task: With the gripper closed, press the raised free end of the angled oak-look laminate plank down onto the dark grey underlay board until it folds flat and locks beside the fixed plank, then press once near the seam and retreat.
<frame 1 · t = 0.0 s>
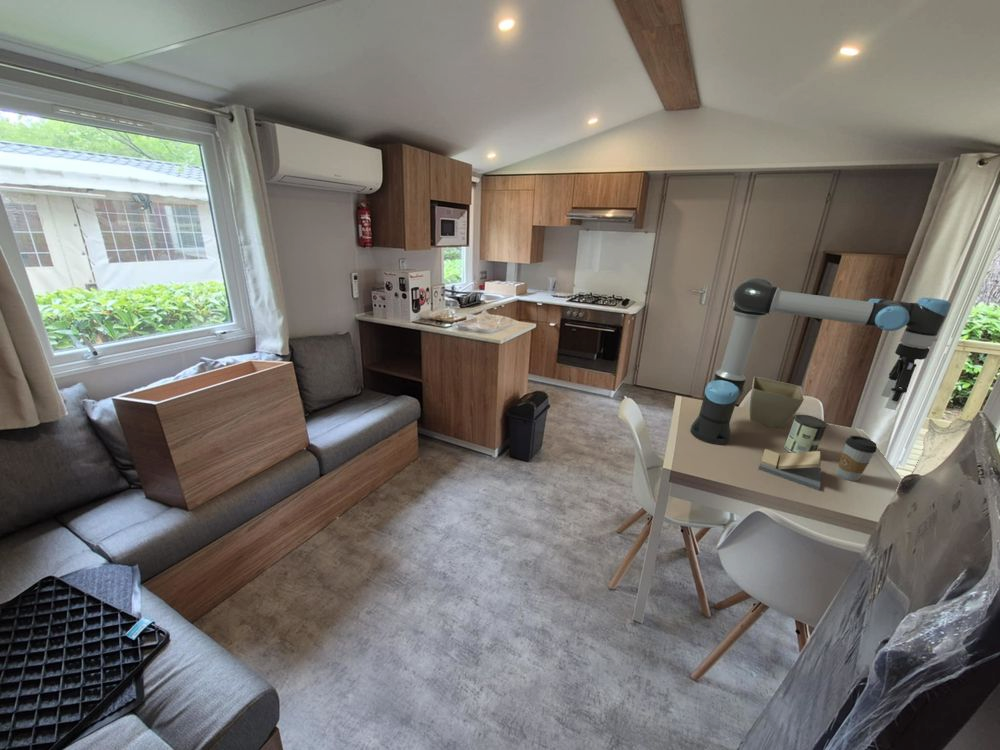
hand: (887, 402, 138), 28 cm above the table, fingers open, 13 cm apart
coffee cup: (846, 476, 143), on the table
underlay: (789, 470, 145), on the table
flower pot: (765, 420, 183), on the table
coffee can: (798, 451, 158), on the table
plank: (799, 460, 142), point 5 cm above the table, hinge at -30.0°
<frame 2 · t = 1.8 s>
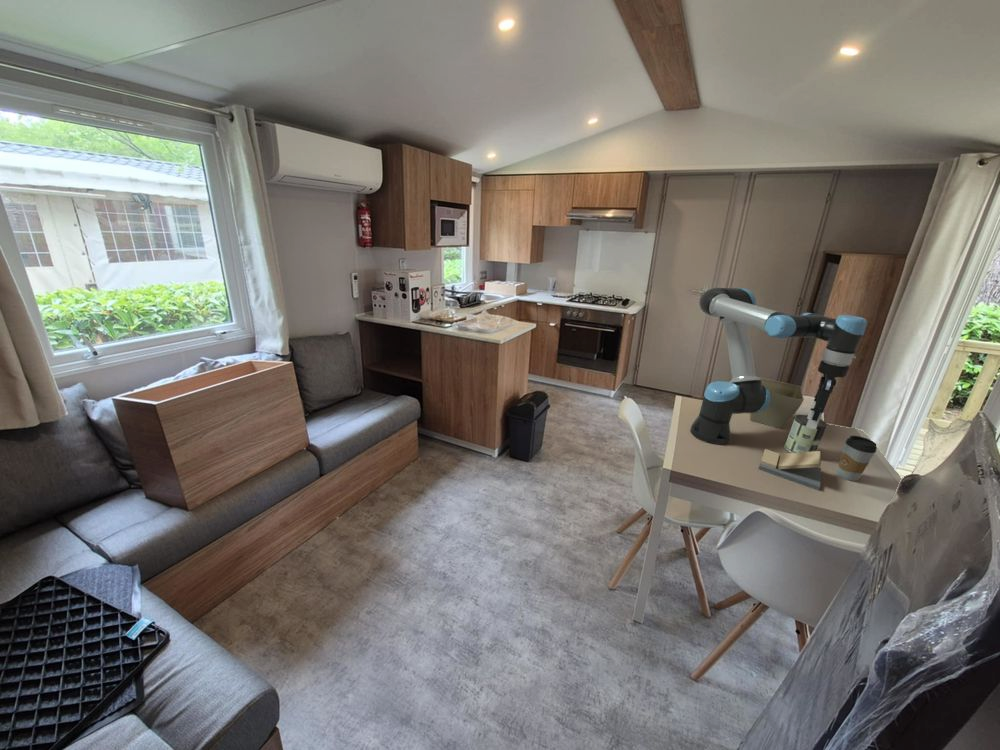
hand: (811, 423, 137), 20 cm above the table, fingers open, 8 cm apart
nothing on the table moved.
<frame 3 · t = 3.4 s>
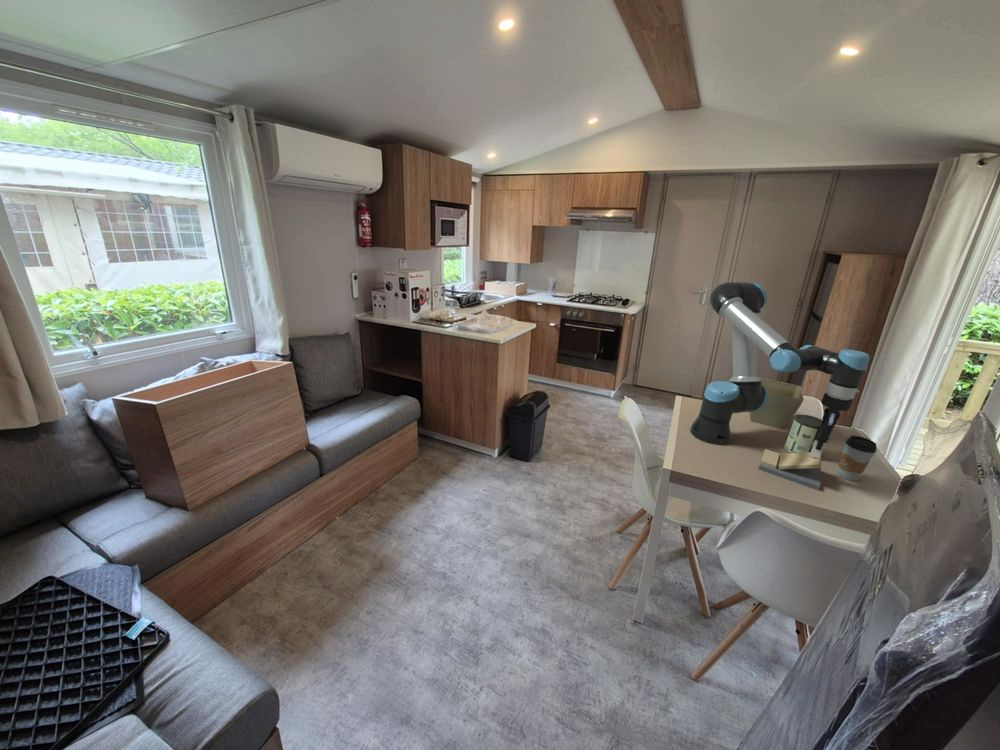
hand: (814, 456, 138), 9 cm above the table, fingers closed
plank: (799, 460, 142), point 5 cm above the table, hinge at -28.5°, touching gripper
everything else where it was.
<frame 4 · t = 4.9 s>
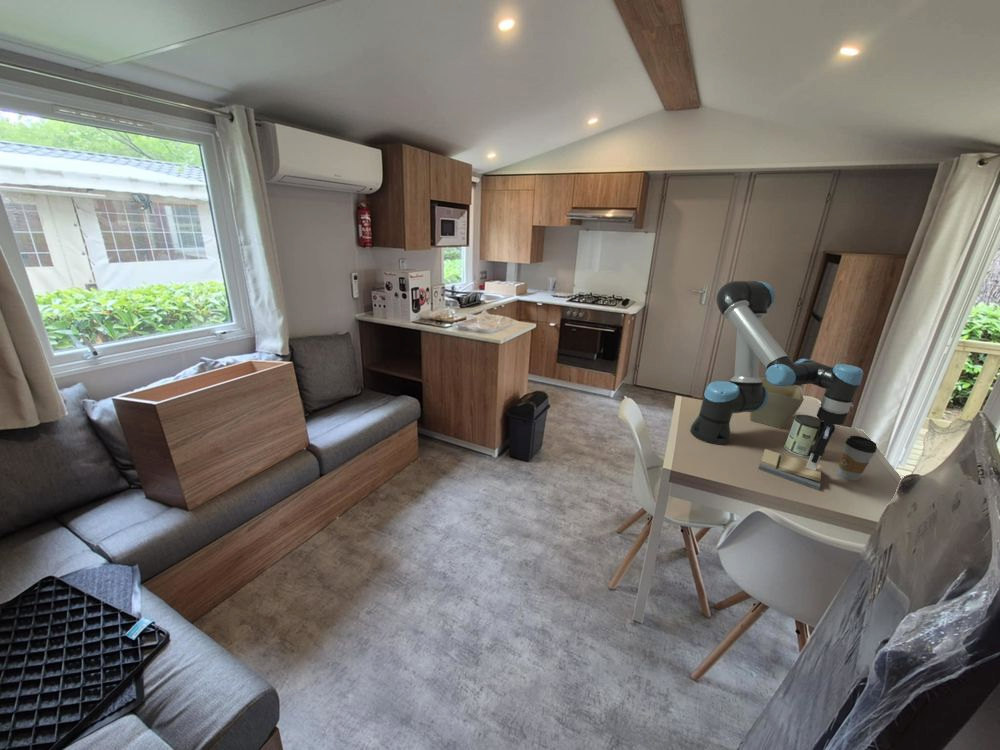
hand: (810, 468, 140), 4 cm above the table, fingers closed
plank: (799, 467, 142), point 3 cm above the table, hinge at -3.8°, touching gripper
everything else where it was.
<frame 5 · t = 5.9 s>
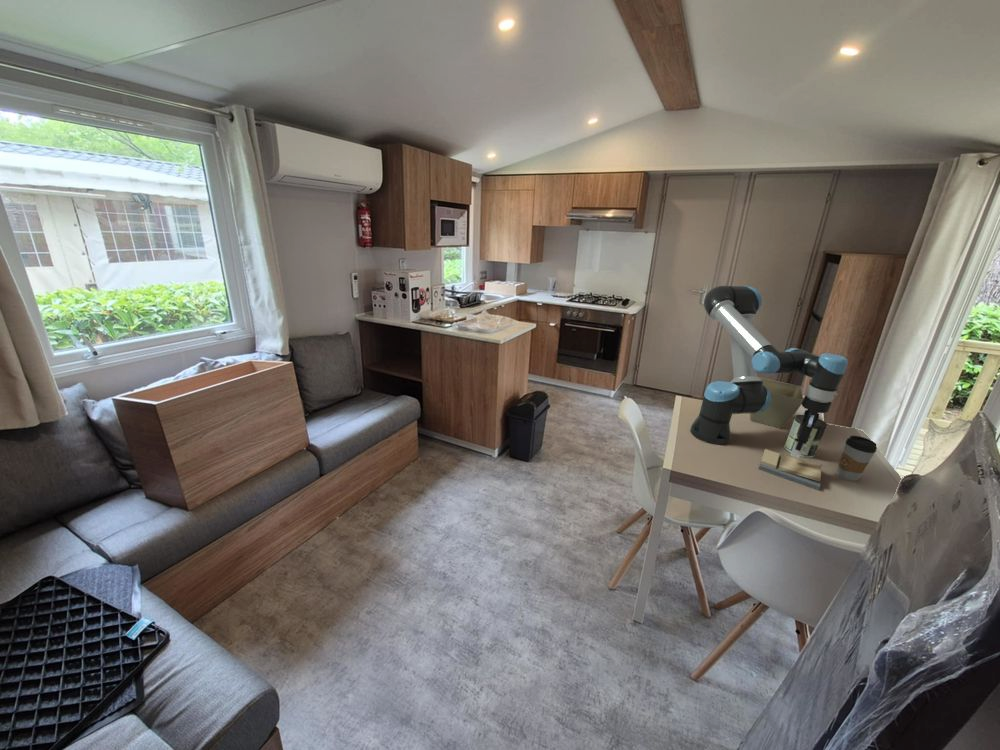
hand: (794, 456, 143), 6 cm above the table, fingers closed
plank: (799, 467, 142), point 3 cm above the table, hinge at -3.7°
everything else where it was.
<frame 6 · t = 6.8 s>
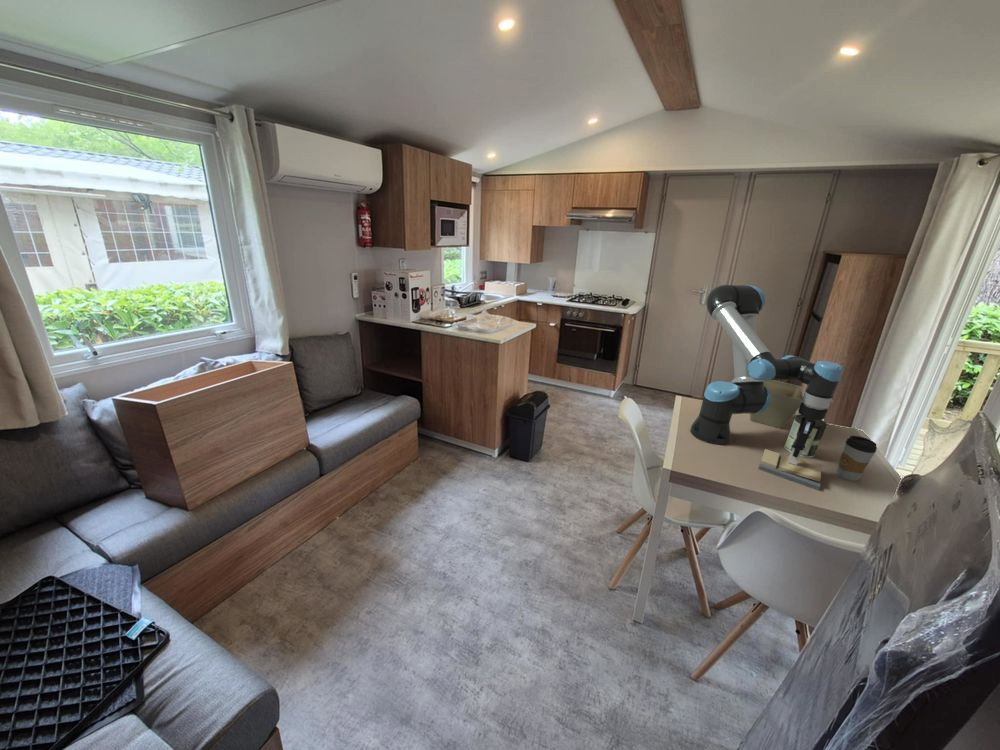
hand: (792, 462, 143), 3 cm above the table, fingers closed
plank: (799, 467, 142), point 3 cm above the table, hinge at -3.7°, touching gripper
everything else where it was.
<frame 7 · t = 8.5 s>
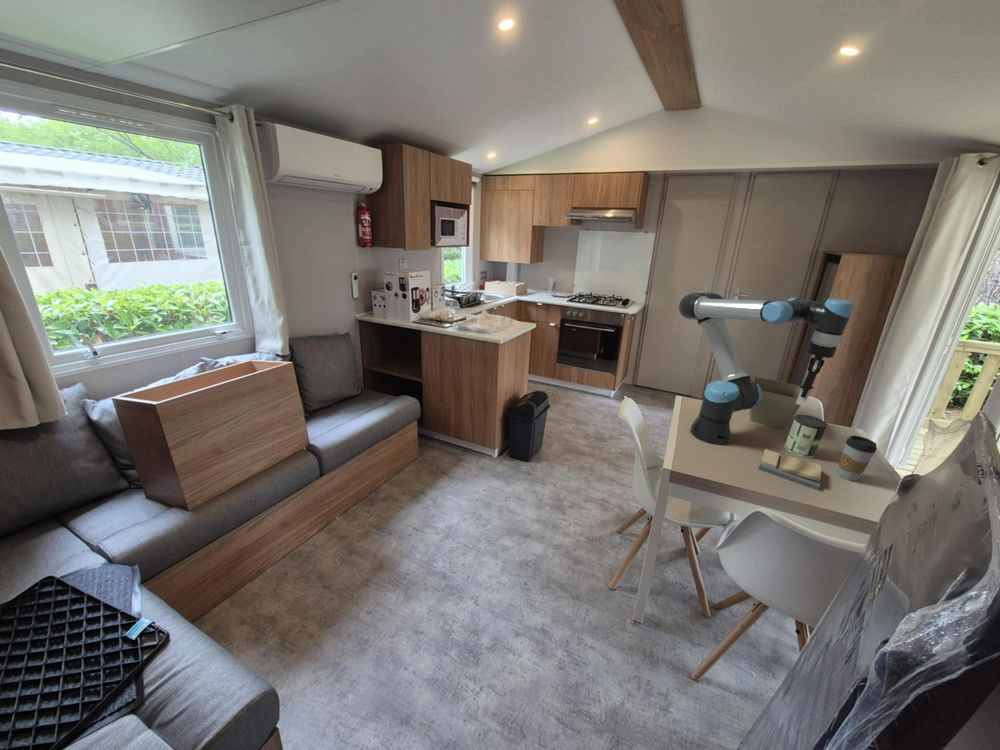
hand: (800, 404, 145), 23 cm above the table, fingers closed
plank: (799, 467, 142), point 3 cm above the table, hinge at -3.7°
everything else where it was.
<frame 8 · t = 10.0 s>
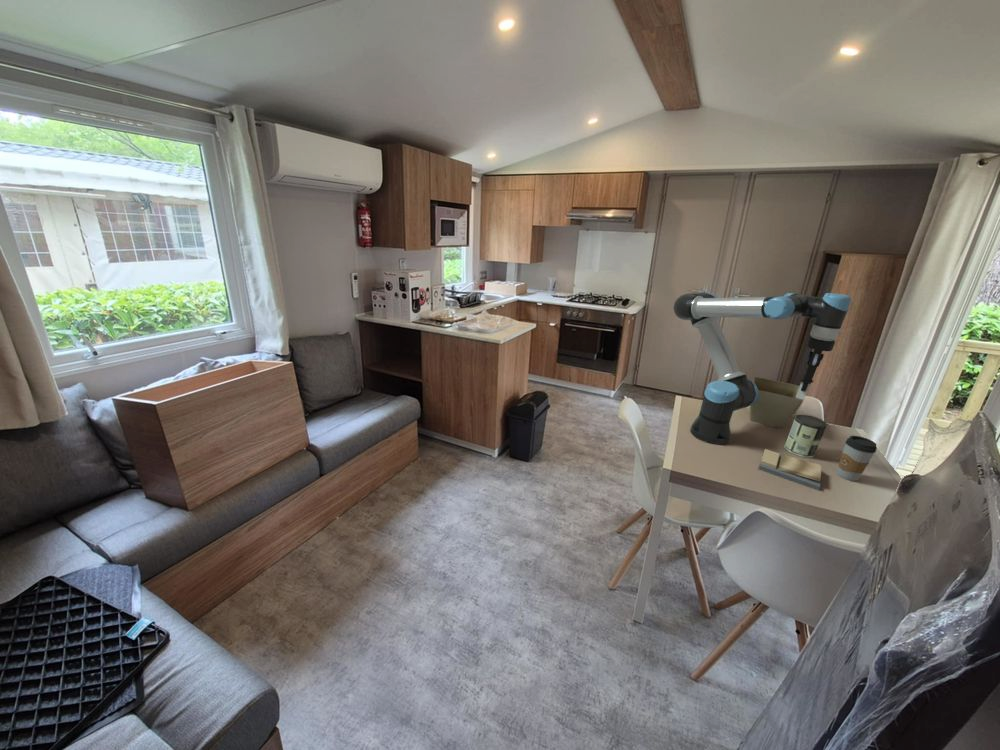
hand: (800, 398, 147), 24 cm above the table, fingers closed
nothing on the table moved.
at the end: plank at -4° (first picture: -30°) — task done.
